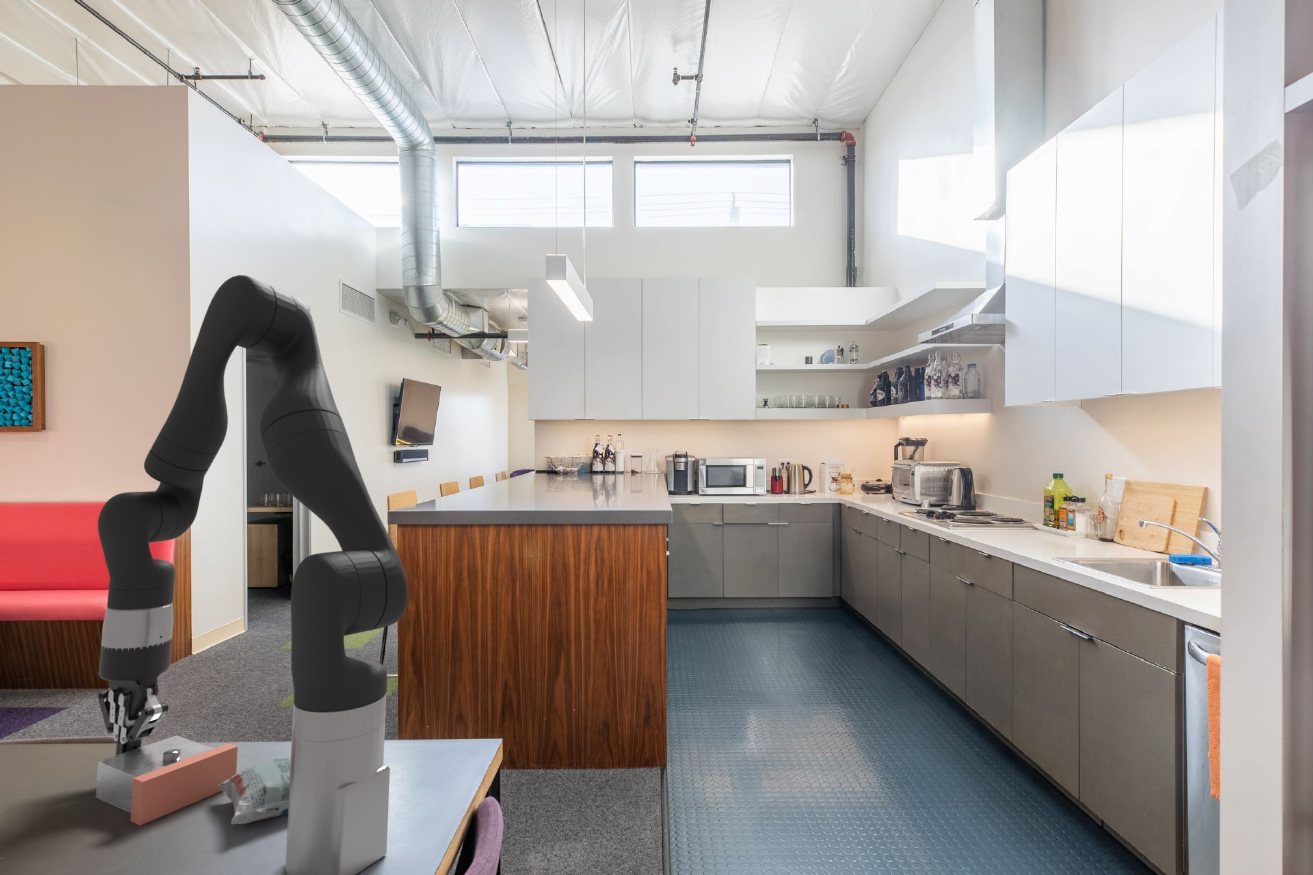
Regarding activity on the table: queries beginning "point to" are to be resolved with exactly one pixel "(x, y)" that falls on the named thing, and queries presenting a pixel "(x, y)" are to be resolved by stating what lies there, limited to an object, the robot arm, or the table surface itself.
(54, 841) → the table surface
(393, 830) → the table surface
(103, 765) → the metal block with knob
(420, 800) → the table surface
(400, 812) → the table surface
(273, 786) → the packaged food
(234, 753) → the salmon angled bracket
